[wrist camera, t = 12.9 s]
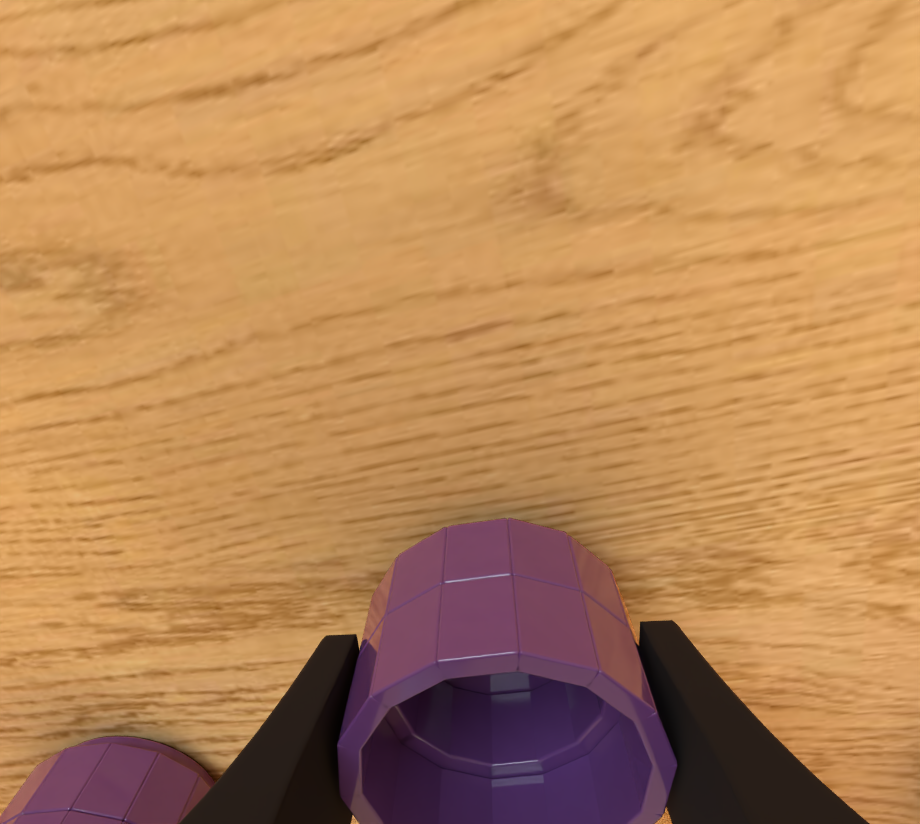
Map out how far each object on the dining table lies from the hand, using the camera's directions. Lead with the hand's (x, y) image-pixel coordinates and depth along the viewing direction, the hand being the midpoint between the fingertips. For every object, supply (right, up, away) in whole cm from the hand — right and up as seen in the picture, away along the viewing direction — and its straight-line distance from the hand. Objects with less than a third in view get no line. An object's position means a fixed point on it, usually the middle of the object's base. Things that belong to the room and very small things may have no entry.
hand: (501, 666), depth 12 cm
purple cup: (0, +1, +1) cm, 2 cm away
